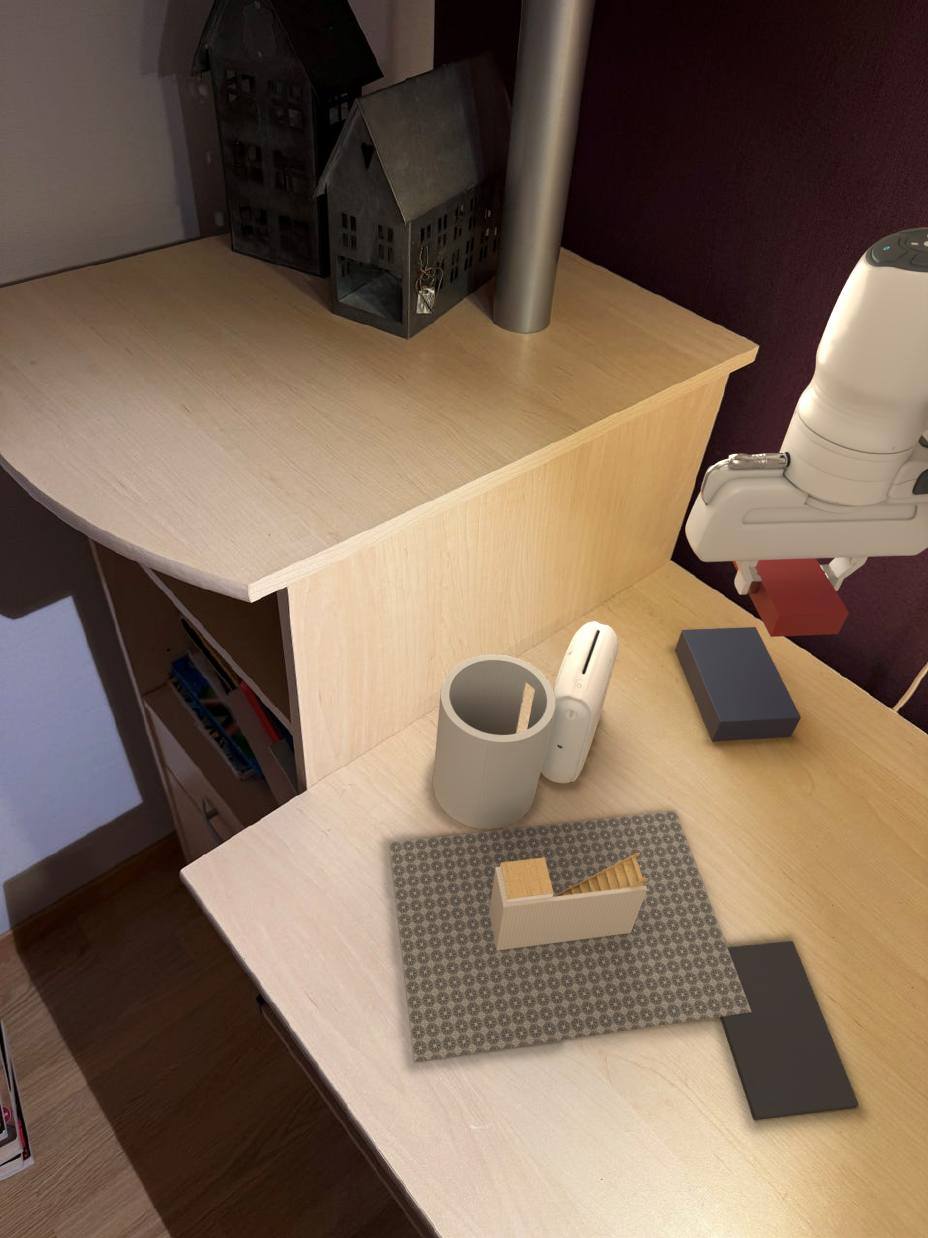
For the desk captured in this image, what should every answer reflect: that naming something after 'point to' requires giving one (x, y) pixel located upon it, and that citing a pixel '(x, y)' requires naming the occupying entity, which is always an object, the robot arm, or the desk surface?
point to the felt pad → (783, 1038)
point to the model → (557, 935)
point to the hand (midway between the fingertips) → (785, 588)
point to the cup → (490, 740)
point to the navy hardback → (736, 684)
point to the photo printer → (579, 700)
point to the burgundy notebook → (797, 598)
